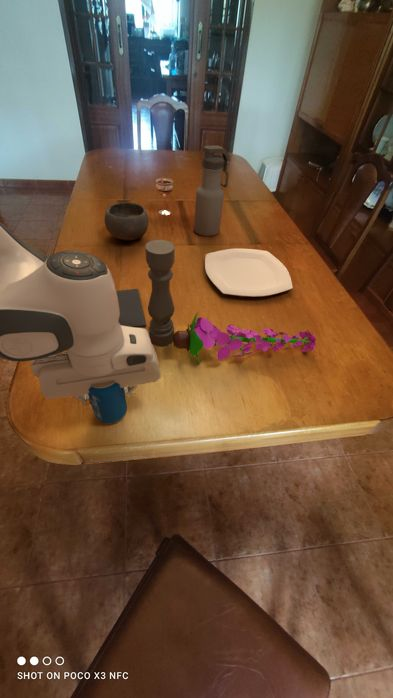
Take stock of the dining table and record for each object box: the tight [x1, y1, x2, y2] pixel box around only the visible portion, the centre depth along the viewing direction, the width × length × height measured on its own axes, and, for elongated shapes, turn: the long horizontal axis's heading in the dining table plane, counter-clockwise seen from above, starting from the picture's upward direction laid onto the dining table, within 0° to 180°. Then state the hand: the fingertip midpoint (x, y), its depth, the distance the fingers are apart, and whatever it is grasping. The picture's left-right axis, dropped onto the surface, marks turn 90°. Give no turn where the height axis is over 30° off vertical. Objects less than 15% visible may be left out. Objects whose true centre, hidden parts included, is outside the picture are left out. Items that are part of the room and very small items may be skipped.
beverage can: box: [88, 381, 128, 425], centre depth 60 cm, size 6×6×12 cm
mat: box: [116, 288, 148, 328], centre depth 85 cm, size 22×16×1 cm
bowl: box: [104, 201, 150, 241], centre depth 110 cm, size 15×15×10 cm
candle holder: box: [144, 239, 176, 348], centre depth 71 cm, size 6×6×25 cm
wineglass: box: [155, 177, 174, 216], centre depth 126 cm, size 7×7×12 cm
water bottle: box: [193, 145, 231, 237], centre depth 111 cm, size 10×10×28 cm
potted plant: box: [172, 311, 317, 363], centre depth 76 cm, size 12×16×35 cm
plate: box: [204, 247, 294, 298], centre depth 101 cm, size 27×27×2 cm
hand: (108, 398), depth 61 cm, fingers closed on beverage can, 6 cm apart
